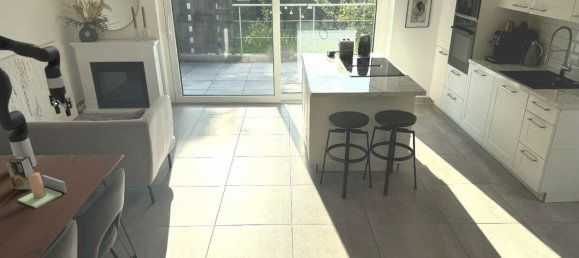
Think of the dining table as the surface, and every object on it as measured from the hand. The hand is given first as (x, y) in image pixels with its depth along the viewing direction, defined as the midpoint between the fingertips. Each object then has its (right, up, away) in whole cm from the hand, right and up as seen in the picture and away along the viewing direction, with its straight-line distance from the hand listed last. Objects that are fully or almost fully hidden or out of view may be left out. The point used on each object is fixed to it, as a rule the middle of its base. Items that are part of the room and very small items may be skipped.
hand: (63, 114), depth 208 cm
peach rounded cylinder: (-3, -41, -15) cm, 44 cm away
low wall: (0, -39, -7) cm, 39 cm away
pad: (-3, -42, -15) cm, 44 cm away
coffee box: (-17, -38, -4) cm, 42 cm away
